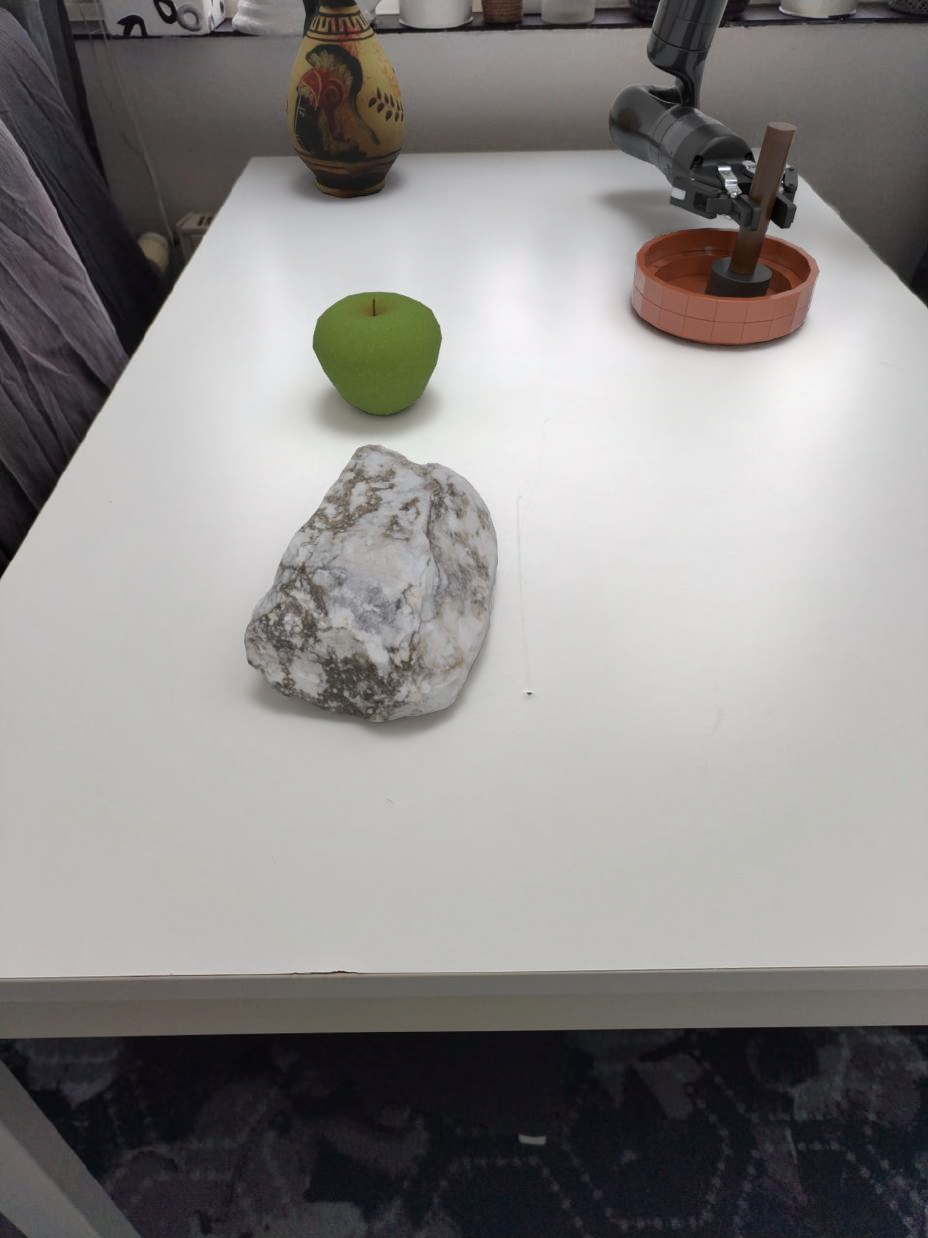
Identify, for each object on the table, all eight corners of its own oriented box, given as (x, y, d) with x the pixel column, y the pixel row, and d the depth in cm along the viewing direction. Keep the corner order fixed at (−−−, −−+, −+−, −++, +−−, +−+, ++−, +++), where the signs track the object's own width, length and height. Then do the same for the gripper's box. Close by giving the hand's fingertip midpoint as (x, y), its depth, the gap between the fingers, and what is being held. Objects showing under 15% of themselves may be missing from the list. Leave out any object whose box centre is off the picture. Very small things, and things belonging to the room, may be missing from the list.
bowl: (760, 267, 96) (771, 221, 93) (836, 340, 84) (852, 290, 80) (609, 282, 94) (614, 235, 91) (664, 359, 82) (672, 309, 78)
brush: (750, 285, 91) (800, 116, 80) (772, 311, 87) (827, 136, 76) (696, 285, 90) (739, 115, 79) (715, 311, 86) (763, 135, 75)
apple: (457, 382, 80) (454, 275, 73) (423, 444, 73) (416, 332, 65) (348, 368, 82) (335, 263, 75) (304, 427, 75) (285, 317, 68)
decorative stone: (353, 491, 65) (358, 391, 57) (520, 550, 65) (550, 457, 56) (236, 703, 55) (222, 618, 46) (436, 776, 54) (457, 703, 45)
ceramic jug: (431, 176, 119) (419, -105, 98) (364, 213, 110) (335, -89, 89) (334, 157, 126) (303, -111, 105) (264, 190, 117) (214, -96, 95)
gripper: (646, 126, 89) (709, 181, 77) (773, 118, 91) (855, 170, 78) (637, 203, 94) (694, 265, 82) (757, 193, 96) (831, 253, 84)
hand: (772, 218), depth 80 cm, fingers closed on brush, 2 cm apart
